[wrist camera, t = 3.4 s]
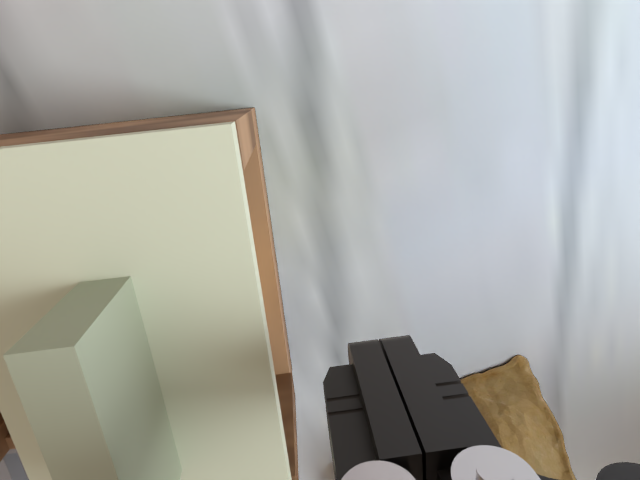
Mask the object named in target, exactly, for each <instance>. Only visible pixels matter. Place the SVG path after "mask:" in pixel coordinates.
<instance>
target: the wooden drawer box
mask: <svg viewBox="0 0 640 480" xmlns="http://www.w3.org/2000/svg"><path fill="white" fill-rule="evenodd" d="M233 121H235V125H236V131H237V138H238V144H239V150H240V157H241V163H242V169H243V176H244V182H245V188H246V194H247V201H248V207H249V213H250V220H251V226H252V232H253V239H254V245H255V251H256V258H257V264H258V270H259V277H260V283H261V289H262V295H263V302H264V308H265V314H266V321H267V327H268V333H269V340H270V346H271V352H272V359H273V365H274V371H275V377H276V384H277V390H278V396H279V403H280V409H281V415H282V422H283V428H284V434H285V441H286V447H287V453H288V460H289V466H290V472H291V478H292V480H299V479H298V455H297V431H296V407H295V391H294V384H293V377H292V366H291V359H290V352H289V345H288V338H287V331H286V324H285V317H284V310H283V303H282V296H281V289H280V282H279V275H278V268H277V261H276V254H275V247H274V240H273V233H272V226H271V218H270V211H269V204H268V197H267V190H266V183H265V176H264V169H263V162H262V155H261V148H260V141H259V134H258V127H257V120H256V113H255V108H245V109H236V110H226V111H217V112H208V113H198V114H189V115H180V116H170V117H161V118H151V119H142V120H133V121H123V122H114V123H105V124H95V125H86V126H76V127H67V128H58V129H48V130H39V131H29V132H20V133H11V134H1V135H0V147H1V146H11V145H20V144H29V143H38V142H48V141H57V140H66V139H76V138H85V137H94V136H103V135H113V134H122V133H131V132H141V131H150V130H159V129H168V128H178V127H187V126H196V125H205V124H215V123H224V122H233ZM10 449H16V448H15V445H14V443H13V440H12V438H11V436H10V433H9V431H8V429H7V426H6V424H5V421H4V419H3V417H2V414H1V412H0V462H1V460H2V459H3V458H4V456H5V455H6V454H7V452H8V451H9V450H10Z"/></svg>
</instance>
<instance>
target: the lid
mask: <svg viewBox="0 0 640 480" xmlns="http://www.w3.org/2000/svg"><path fill="white" fill-rule="evenodd" d="M0 412H1V414H2V417H3V419H4V421H5V424H6V426H7V429H8V431H9V433H10V436H11V438H12V440H13V443H14V445H15V448H16V450H17V452H18V455H19V457H20V459H21V462H22V464H23V467H24V469H25V471H26V474H27V476H28V478H29V480H292V478H291V472H290V466H289V460H288V453H287V447H286V441H285V434H284V428H283V422H282V415H281V409H280V403H279V396H278V390H277V384H276V377H275V371H274V365H273V359H272V352H271V346H270V340H269V333H268V327H267V321H266V314H265V308H264V302H263V295H262V289H261V283H260V277H259V270H258V264H257V258H256V251H255V245H254V239H253V232H252V226H251V220H250V213H249V207H248V201H247V194H246V188H245V182H244V176H243V169H242V163H241V157H240V150H239V144H238V138H237V131H236V125H235V121H233V122H224V123H215V124H205V125H196V126H187V127H178V128H168V129H159V130H150V131H141V132H131V133H122V134H113V135H103V136H94V137H85V138H76V139H66V140H57V141H48V142H38V143H29V144H20V145H11V146H1V147H0Z"/></svg>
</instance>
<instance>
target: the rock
mask: <svg viewBox="0 0 640 480" xmlns="http://www.w3.org/2000/svg"><path fill="white" fill-rule="evenodd" d="M461 383H463V385H464V387H465V388H466V390H467V392H468V394H469V396H471V398H472V400H473V401H474V403H475V405H476V406H477V408H478V409H479V411H480V413H481V414H482V416H483V418H484V419H485V421H486V422H487V424H488V426H489V427H490V429H491V431H492V432H493V434H494V435H495V437H496V439H497V440H498V442H499V444H500V445H501V447H502V448H503V449H506V450H508V451H511V452H512V453H514V454H516V455H518V456H519V457H521V458H522V459H523V460H525V461H526V462H527V463H528V464H529V465H530V466H531V467H532V469H533V470H534V471H535V472H536V474H539V475H542V476H545V477H548V478H553V479H559V480H576V478H575V476H574V474H573V472H572V469H571V466H570V461H569V457H568V455H567V452H566V449H565V444H564V439H563V435H562V432H561V430H560V428H559V425H558V423H557V422H556V419H555V417H554V416H553V414H552V412H551V410H550V409H549V407H548V405H547V404H546V402H545V401H544V399H543V397H542V395H541V391H540V387H539V383H538V381H537V379H536V378H535V376H534V375H533V374H532V371H531V369H530V366H529V362H528V360H527V359H526V358H525V357H523V356H521V355H516V356H515V357H513V358H512V359H511V361H510V362H508V363H507V364H505V365H503V366H500V367H496V368H493V369H490V370H488V371H486V372H484V373H482V374H481V373H477V374H473V375H470V376H468V377H465V378H463V379H461Z"/></svg>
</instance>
